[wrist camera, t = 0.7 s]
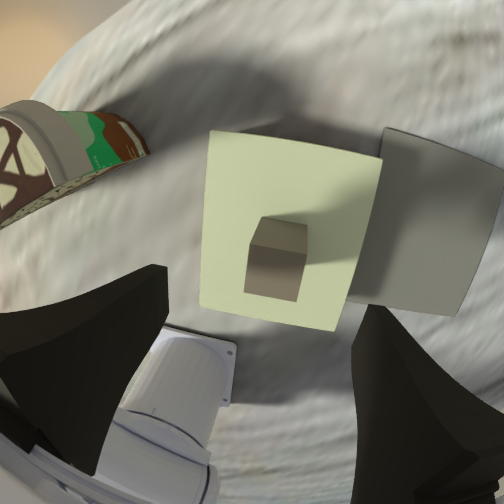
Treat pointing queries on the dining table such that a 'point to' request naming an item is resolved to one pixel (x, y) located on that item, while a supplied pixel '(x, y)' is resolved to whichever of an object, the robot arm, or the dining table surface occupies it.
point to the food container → (57, 154)
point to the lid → (283, 227)
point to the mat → (425, 226)
